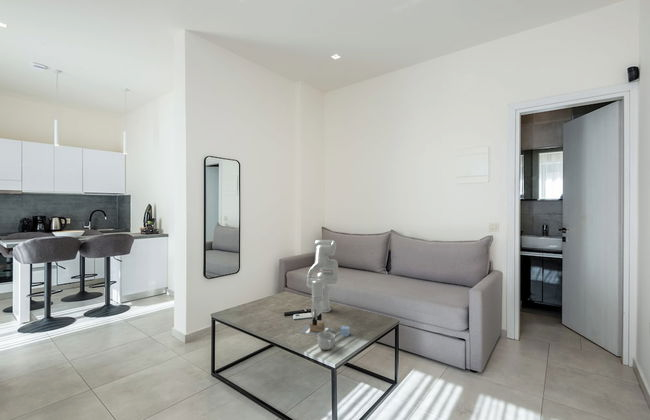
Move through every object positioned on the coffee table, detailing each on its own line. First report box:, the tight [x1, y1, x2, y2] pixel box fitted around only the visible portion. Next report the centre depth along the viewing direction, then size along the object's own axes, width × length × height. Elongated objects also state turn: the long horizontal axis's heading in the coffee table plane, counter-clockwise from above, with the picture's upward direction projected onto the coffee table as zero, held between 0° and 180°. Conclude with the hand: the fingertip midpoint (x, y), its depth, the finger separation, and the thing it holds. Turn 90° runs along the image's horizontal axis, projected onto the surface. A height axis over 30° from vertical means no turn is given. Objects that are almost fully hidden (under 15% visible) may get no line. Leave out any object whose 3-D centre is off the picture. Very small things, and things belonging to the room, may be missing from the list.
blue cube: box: [340, 325, 350, 337], centre depth 210 cm, size 5×5×5 cm
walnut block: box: [309, 321, 325, 333], centre depth 215 cm, size 5×9×5 cm, turn 73°
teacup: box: [317, 332, 336, 351], centre depth 189 cm, size 14×11×8 cm
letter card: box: [299, 324, 335, 336], centre depth 216 cm, size 14×21×1 cm, turn 73°
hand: (317, 322), depth 215 cm, fingers open, 9 cm apart
